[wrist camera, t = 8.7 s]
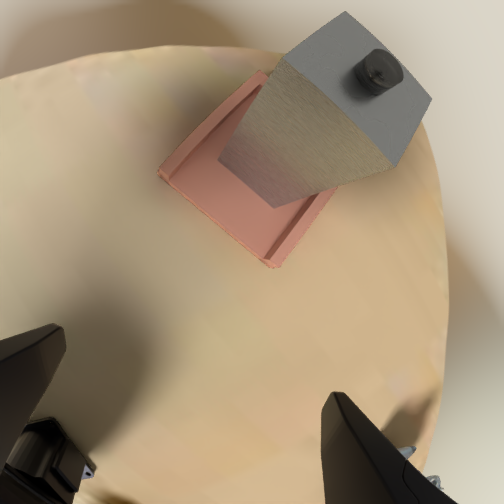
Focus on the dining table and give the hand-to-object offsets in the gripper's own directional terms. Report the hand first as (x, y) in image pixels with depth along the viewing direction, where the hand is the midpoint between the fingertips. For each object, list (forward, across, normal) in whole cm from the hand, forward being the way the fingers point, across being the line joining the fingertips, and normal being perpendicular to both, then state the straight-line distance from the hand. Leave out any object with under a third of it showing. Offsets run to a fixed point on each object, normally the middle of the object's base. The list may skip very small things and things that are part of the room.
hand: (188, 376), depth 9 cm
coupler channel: (+15, -1, -5) cm, 16 cm away
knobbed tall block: (+14, -1, -6) cm, 16 cm away
